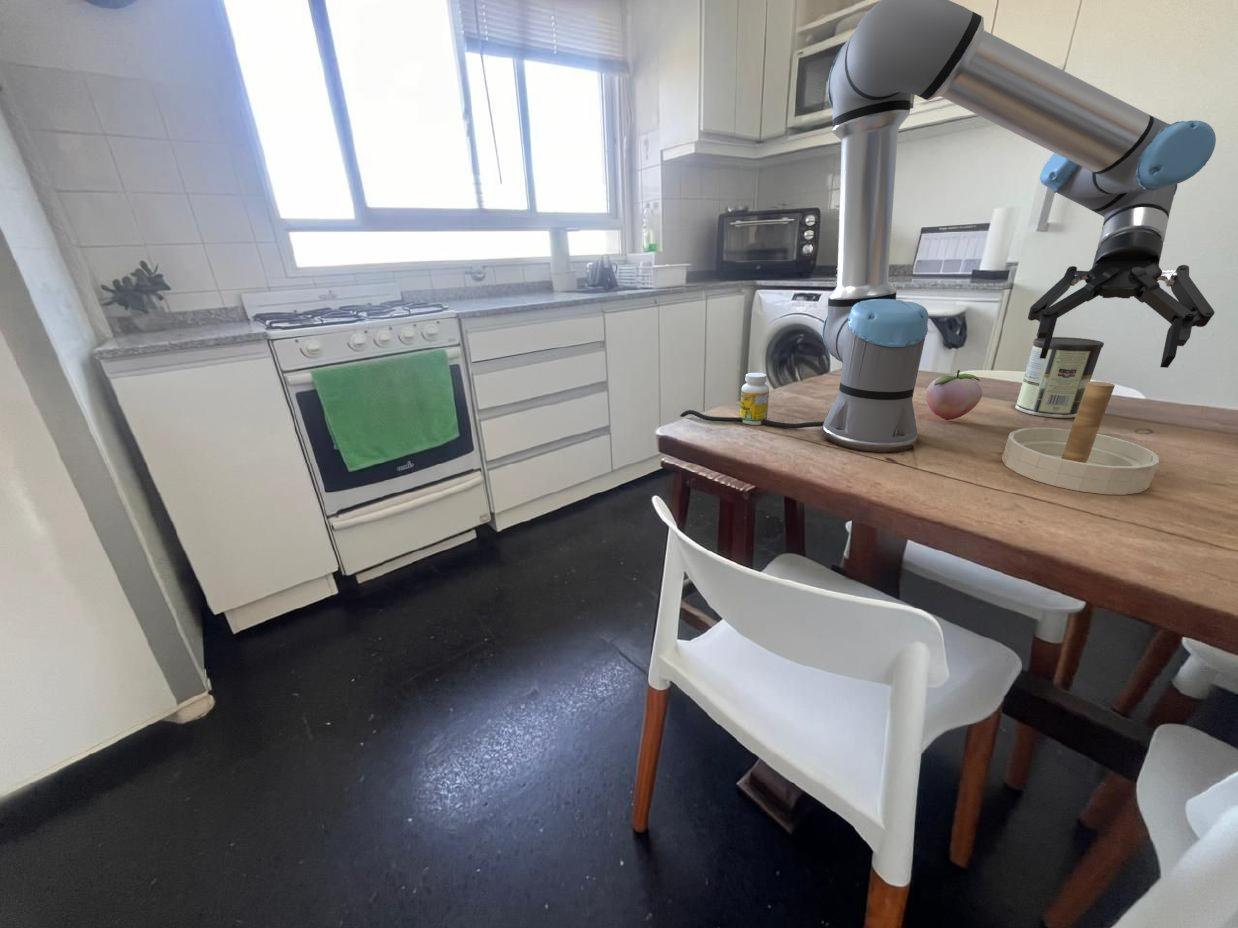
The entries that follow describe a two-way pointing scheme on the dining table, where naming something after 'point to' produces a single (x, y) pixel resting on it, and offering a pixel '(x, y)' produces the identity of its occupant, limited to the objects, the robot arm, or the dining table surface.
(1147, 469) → the bowl
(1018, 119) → the robot arm
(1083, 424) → the muddler
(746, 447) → the dining table surface
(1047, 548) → the dining table surface
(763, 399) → the supplement bottle
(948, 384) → the decorative fruit
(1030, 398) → the coffee can
